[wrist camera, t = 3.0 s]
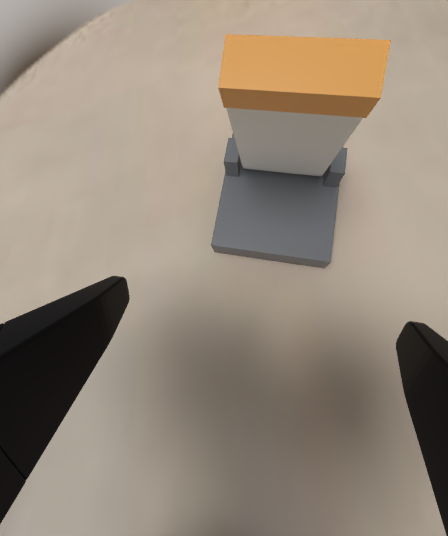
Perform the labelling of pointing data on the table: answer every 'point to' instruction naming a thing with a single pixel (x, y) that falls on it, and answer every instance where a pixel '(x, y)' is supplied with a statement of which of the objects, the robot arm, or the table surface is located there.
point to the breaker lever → (298, 97)
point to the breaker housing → (277, 212)
